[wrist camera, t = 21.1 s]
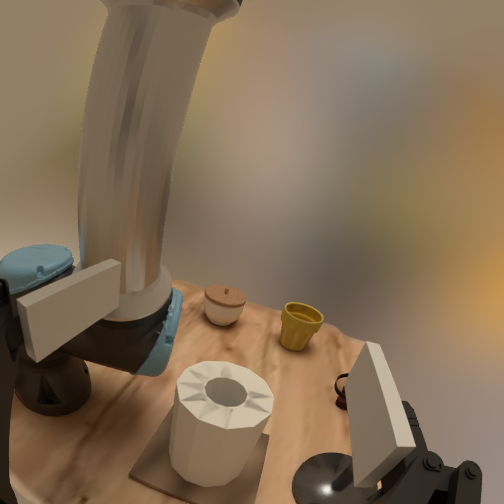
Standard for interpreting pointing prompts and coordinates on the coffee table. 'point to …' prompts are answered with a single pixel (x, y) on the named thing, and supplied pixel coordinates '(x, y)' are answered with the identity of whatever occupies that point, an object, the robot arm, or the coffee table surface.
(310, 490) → the disc
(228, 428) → the towel roll
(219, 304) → the lidded jar
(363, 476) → the robot arm
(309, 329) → the plant pot
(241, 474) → the cutting board
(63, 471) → the coffee table surface
